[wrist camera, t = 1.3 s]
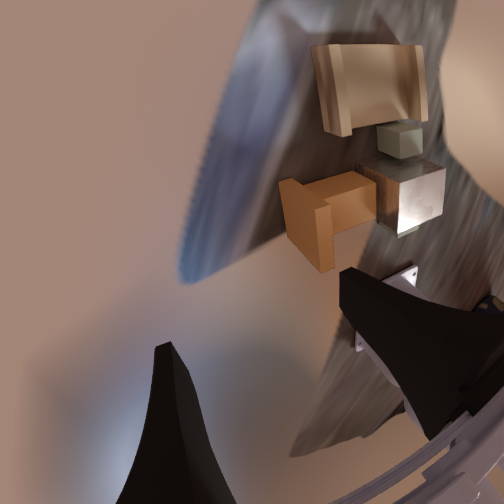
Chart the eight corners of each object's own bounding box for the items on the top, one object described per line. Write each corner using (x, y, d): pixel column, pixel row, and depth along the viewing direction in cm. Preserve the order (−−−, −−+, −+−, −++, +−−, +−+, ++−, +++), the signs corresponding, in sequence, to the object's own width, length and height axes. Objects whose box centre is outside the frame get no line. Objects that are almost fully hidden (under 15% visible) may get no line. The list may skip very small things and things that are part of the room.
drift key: (354, 212, 24) (395, 241, 20) (287, 237, 23) (320, 273, 19) (351, 160, 21) (397, 182, 17) (277, 181, 20) (314, 209, 16)
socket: (399, 216, 26) (418, 229, 24) (379, 224, 26) (397, 238, 24) (399, 121, 21) (422, 128, 19) (376, 125, 21) (399, 132, 19)
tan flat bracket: (408, 115, 21) (428, 120, 19) (324, 131, 20) (341, 137, 18) (401, 45, 18) (421, 45, 16) (310, 47, 16) (328, 44, 15)
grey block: (401, 190, 25) (442, 213, 21) (357, 206, 24) (397, 233, 20) (401, 149, 23) (445, 168, 19) (354, 161, 22) (399, 183, 18)
